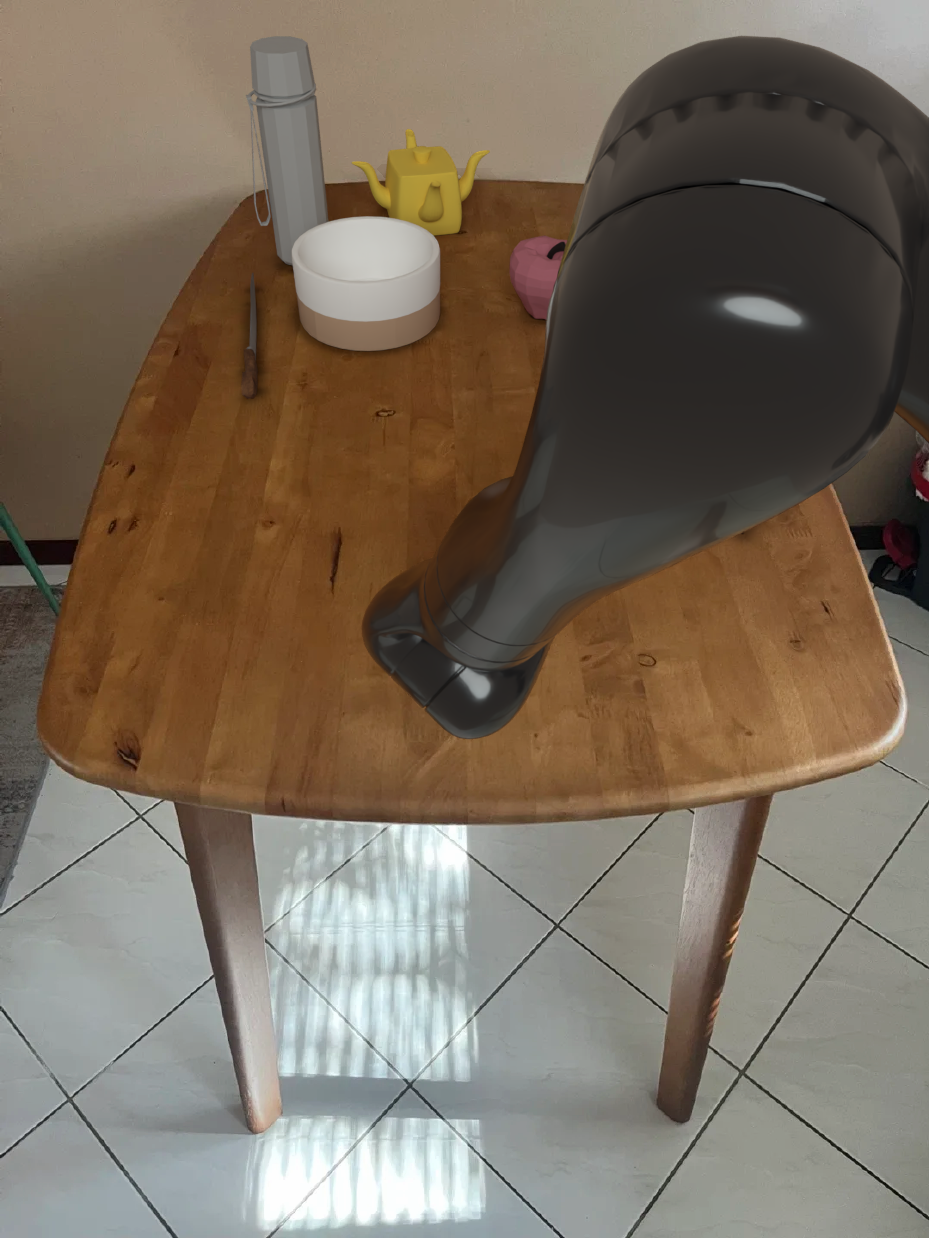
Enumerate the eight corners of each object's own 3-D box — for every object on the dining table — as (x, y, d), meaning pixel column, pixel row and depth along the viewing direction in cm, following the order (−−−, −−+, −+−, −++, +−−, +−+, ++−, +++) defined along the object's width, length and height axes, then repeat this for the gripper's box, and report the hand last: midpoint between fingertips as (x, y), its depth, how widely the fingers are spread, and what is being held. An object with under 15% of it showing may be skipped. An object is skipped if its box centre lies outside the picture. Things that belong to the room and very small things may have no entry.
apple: (589, 303, 117) (599, 224, 109) (577, 338, 111) (586, 257, 104) (515, 293, 118) (519, 214, 111) (499, 327, 113) (502, 246, 105)
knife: (252, 382, 97) (254, 244, 117) (239, 383, 97) (243, 245, 116) (259, 417, 100) (259, 277, 120) (246, 418, 100) (248, 278, 120)
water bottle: (327, 241, 128) (306, 32, 109) (337, 268, 122) (317, 53, 104) (259, 248, 126) (227, 38, 108) (266, 276, 121) (233, 59, 102)
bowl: (450, 286, 119) (450, 221, 113) (426, 358, 108) (425, 290, 102) (319, 275, 121) (312, 210, 115) (282, 344, 109) (272, 277, 103)
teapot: (438, 252, 126) (438, 178, 119) (353, 227, 130) (347, 155, 123) (492, 213, 134) (494, 142, 127) (409, 191, 139) (407, 121, 132)
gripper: (705, 503, 57) (814, 382, 67) (514, 420, 63) (639, 319, 73) (683, 590, 63) (786, 466, 72) (508, 506, 69) (626, 402, 78)
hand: (712, 393), depth 72 cm, fingers closed on pill bottle, 4 cm apart
